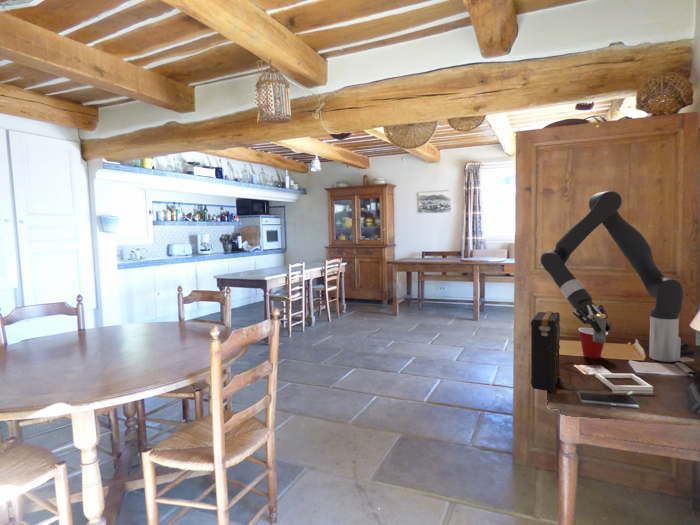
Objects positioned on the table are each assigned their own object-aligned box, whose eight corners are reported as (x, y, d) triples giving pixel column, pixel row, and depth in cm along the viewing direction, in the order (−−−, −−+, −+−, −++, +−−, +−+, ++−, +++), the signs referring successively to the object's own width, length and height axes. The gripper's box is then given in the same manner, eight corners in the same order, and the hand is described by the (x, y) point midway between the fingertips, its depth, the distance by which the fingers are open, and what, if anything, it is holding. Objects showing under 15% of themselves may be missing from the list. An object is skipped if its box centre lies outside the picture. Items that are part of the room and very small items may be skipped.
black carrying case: (557, 394, 139) (557, 320, 137) (529, 389, 143) (529, 318, 141) (562, 379, 152) (562, 311, 150) (536, 375, 156) (536, 309, 154)
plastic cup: (612, 362, 167) (612, 333, 166) (582, 362, 169) (583, 333, 168) (601, 354, 178) (602, 327, 177) (574, 354, 180) (574, 326, 179)
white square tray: (632, 379, 149) (632, 373, 149) (652, 393, 137) (653, 386, 137) (595, 379, 151) (595, 373, 151) (612, 392, 138) (612, 386, 138)
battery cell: (602, 339, 155) (603, 313, 154) (607, 343, 151) (608, 315, 151) (591, 340, 156) (591, 313, 155) (595, 343, 152) (596, 316, 151)
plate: (600, 367, 162) (600, 365, 162) (613, 377, 152) (613, 374, 152) (573, 367, 163) (573, 364, 163) (584, 376, 153) (584, 373, 153)
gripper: (568, 289, 156) (597, 328, 146) (595, 286, 162) (625, 323, 151) (556, 301, 162) (584, 339, 151) (582, 297, 167) (611, 334, 157)
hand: (604, 331), depth 151 cm, fingers closed on battery cell, 4 cm apart
